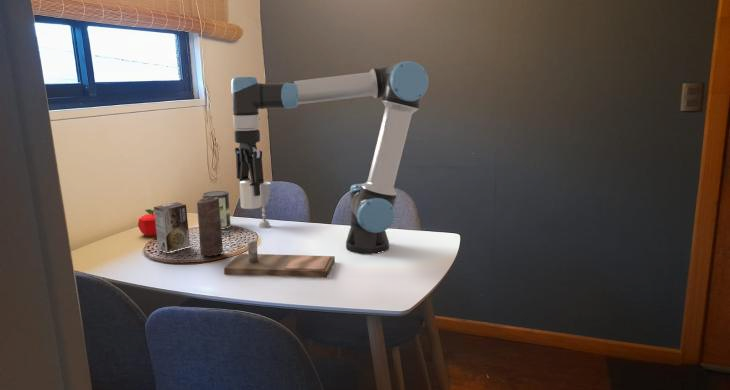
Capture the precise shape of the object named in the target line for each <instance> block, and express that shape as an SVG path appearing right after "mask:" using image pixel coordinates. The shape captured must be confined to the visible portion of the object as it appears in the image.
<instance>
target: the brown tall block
mask: <svg viewBox="0 0 730 390" xmlns="http://www.w3.org/2000/svg"><path fill="white" fill-rule="evenodd" d="M196 209H197V222H198V235H199V236H198V238H199V248H200V254H201V256H204V255H207V257H213V256H212V255H214V256H219V255H218V254H221V253H222V252H223V253H224V248H223V247H224V246H223V237H222V230H221V221H220V209H219V198H218V197H216V198H215V197H211V198H203V197H202V198H199V200H197V202H196ZM221 255H222V254H221Z"/></svg>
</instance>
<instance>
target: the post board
mask: <svg viewBox="0 0 730 390" xmlns="http://www.w3.org/2000/svg"><path fill="white" fill-rule="evenodd" d="M247 251H248V253H238V254H237V256H235V257H234V258H233V259H232V260H231V261H230V262H229V263H228V264H226V266H225V267H223V273H224V275H234V276H235V275H237V276H238V275H239V276H241V275H242V276H262V277H263V276H264V277H266V276H267V277H270V276H271V277H292V278H293V277H294V278H295V277H297V278H298V277H299V278H301V277H302V278H322V277H323V278H327V277H328V276H329V274H330V272H331V271H332V269H333V266H334V264H335V262H336V261H335V260H336V259H335V258H336V257H335V256H334V255H332V256H331V255H308V254H307V255H306V254H305V255H303V254H302V255H301V254H270V253H269V254H267V253H264V254H263V253H258V242H257V240H248V241H247Z"/></svg>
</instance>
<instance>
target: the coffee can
mask: <svg viewBox="0 0 730 390" xmlns="http://www.w3.org/2000/svg"><path fill="white" fill-rule="evenodd" d="M229 195H230V194H229V192H228V191H227V190H226V191H225V190H213V191H206V192H203V193H202V195H201V197H202V198H211V197H215V198H216V197H218V198H219V209H220V221H221V228H227V227H229V228H231V226H232V225H231V214H230V212H231V211H230V201H229V200H230V199H229V197H230V196H229ZM227 229H228V228H227Z"/></svg>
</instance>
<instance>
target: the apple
mask: <svg viewBox="0 0 730 390" xmlns="http://www.w3.org/2000/svg"><path fill="white" fill-rule="evenodd" d="M144 211H145V212H146V213H148V214H144V215H142V216H141V217H140V218H139V219H138V223H137V227H138V229H139V230H140V232H141V233H142V235H144V236H146V237H157V232H156V222H155V213H154V209H144Z"/></svg>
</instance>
